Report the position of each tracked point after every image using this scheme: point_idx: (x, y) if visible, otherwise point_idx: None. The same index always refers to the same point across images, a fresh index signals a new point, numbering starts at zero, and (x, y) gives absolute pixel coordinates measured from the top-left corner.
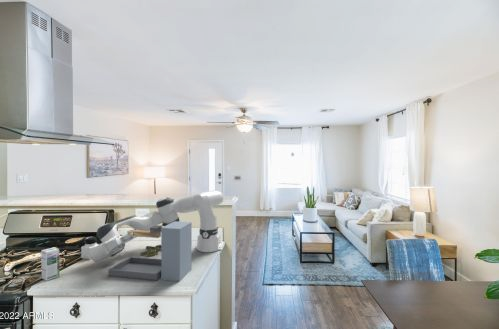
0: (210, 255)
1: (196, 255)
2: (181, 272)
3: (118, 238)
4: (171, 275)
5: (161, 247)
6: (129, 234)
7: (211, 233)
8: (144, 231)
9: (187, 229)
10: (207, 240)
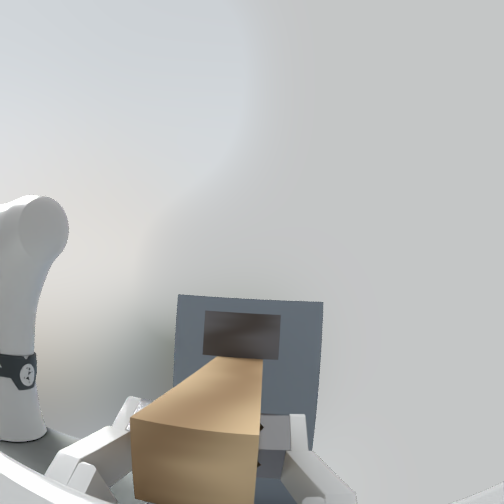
0: (72, 439)
1: (52, 457)
2: None
3: (475, 494)
4: None
5: (316, 402)
6: (306, 443)
7: (36, 366)
8: (230, 369)
9: None
10: (32, 394)
